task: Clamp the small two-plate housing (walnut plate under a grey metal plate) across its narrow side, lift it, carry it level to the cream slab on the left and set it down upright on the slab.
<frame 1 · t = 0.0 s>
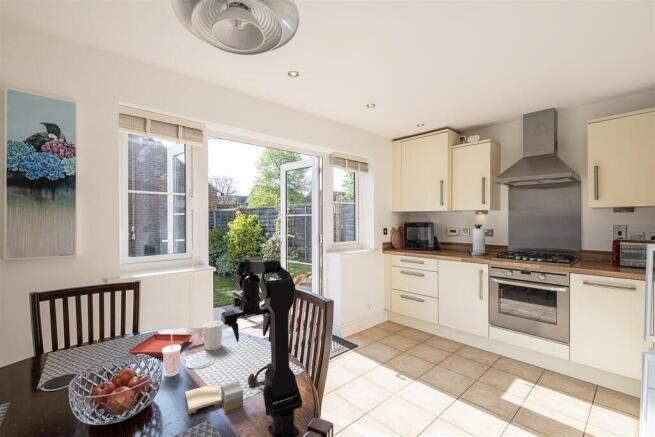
hand: (251, 338, 104), 15 cm above the table, fingers open, 9 cm apart
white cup: (213, 347, 131), on the table
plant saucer: (162, 350, 129), on the table
beverage cup: (171, 373, 109), on the table
cream slab: (203, 400, 93), on the table
housing: (231, 406, 91), on the table
mechanical counter: (267, 382, 104), on the table
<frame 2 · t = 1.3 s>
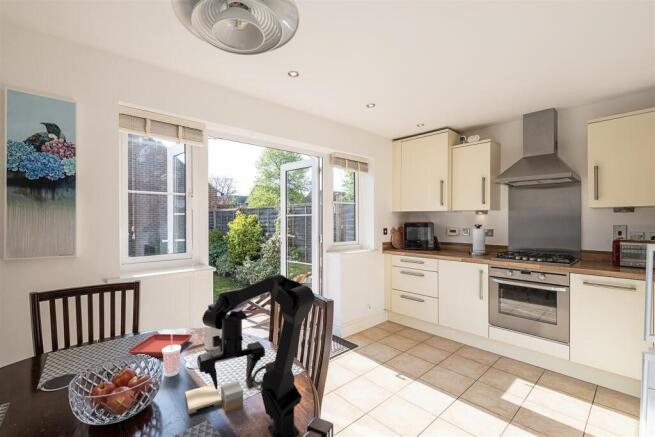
hand: (232, 384, 90), 7 cm above the table, fingers open, 9 cm apart
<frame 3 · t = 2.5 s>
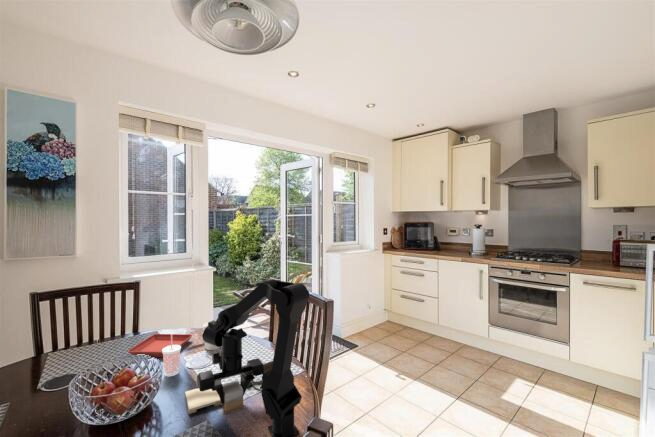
hand: (231, 401, 91), 1 cm above the table, fingers closed on housing, 5 cm apart
housing: (231, 405, 91), on the table, touching gripper
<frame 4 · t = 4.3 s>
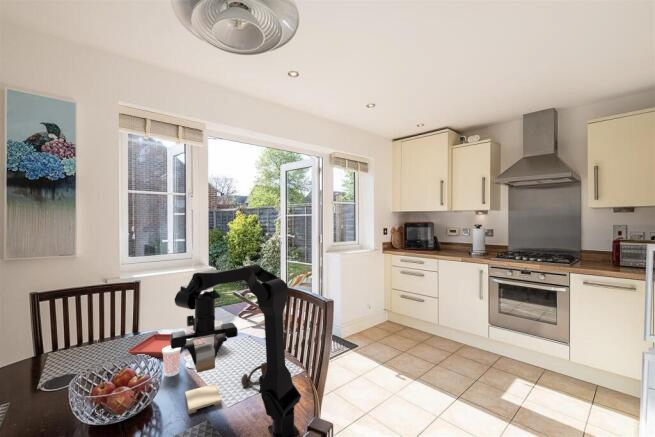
hand: (204, 362, 93), 12 cm above the table, fingers closed on housing, 5 cm apart
housing: (204, 366, 93), point 11 cm above the table, touching gripper
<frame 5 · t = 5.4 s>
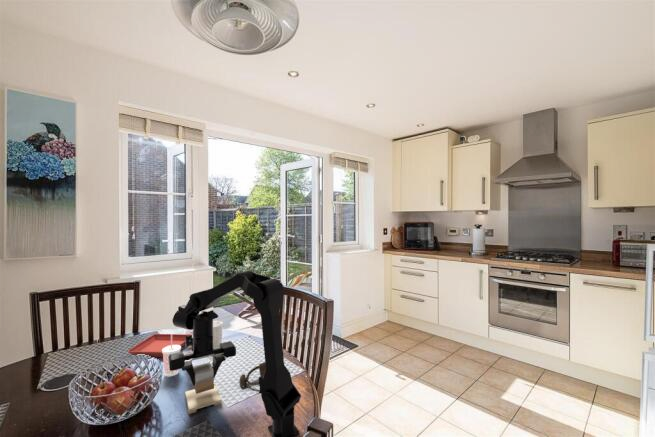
hand: (203, 382, 93), 6 cm above the table, fingers closed on housing, 5 cm apart
housing: (203, 386, 93), point 4 cm above the table, touching gripper
when the fingers open (4 cm above the table, at t = 6.2 s): housing stays where it is, resting on cream slab.
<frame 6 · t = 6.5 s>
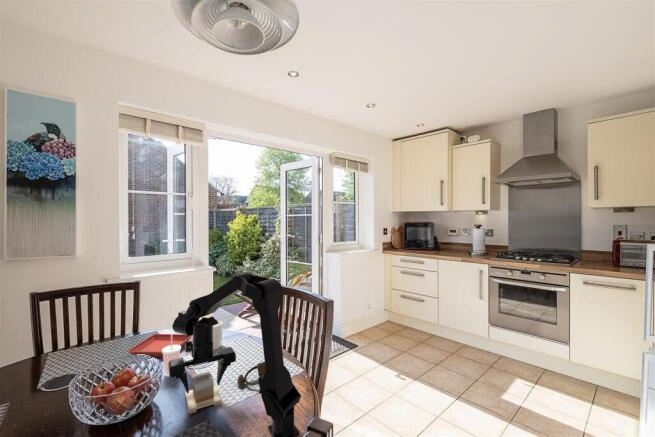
hand: (203, 388, 93), 4 cm above the table, fingers open, 8 cm apart
housing: (203, 395, 93), point 2 cm above the table, touching cream slab
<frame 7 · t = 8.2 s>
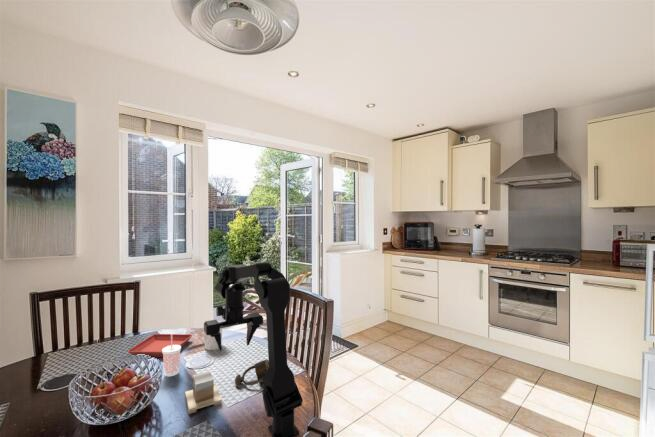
hand: (234, 348, 102), 12 cm above the table, fingers open, 9 cm apart
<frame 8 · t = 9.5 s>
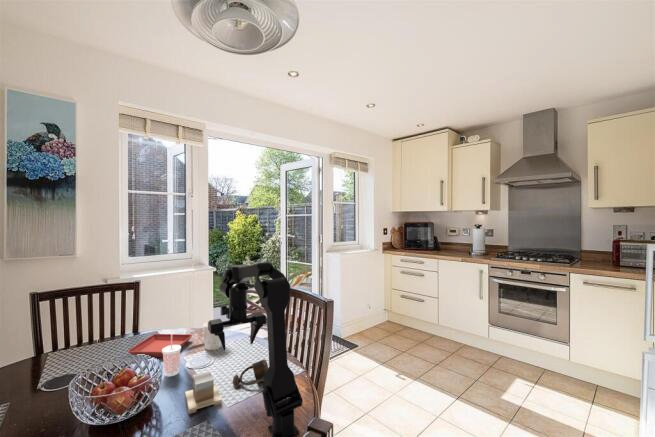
hand: (238, 347, 103), 12 cm above the table, fingers open, 9 cm apart
at the end: housing inside the target area on the cream slab (0.0 cm from its centre), point 1.6 cm above the cream slab's base; housing tilted 0°; the gripper is holding nothing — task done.
